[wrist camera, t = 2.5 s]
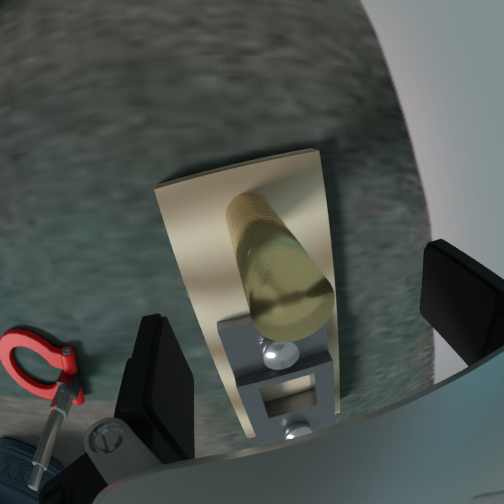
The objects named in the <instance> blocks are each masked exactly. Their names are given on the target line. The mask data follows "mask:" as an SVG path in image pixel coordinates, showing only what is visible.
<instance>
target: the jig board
mask: <svg viewBox="0 0 504 504" xmlns="http://www.w3.org/2000/svg"><path fill="white" fill-rule="evenodd" d="M154 190H155V194H156V197H157V200H158V204H159V207H160V210H161V214H162V217H163V220H164V223H165V226H166V229H167V233H168V236H169V239H170V242H171V245H172V248H173V251H174V254H175V257H176V260H177V263H178V266H179V269H180V272H181V275H182V277H183V280H184V283H185V286H186V289H187V292H188V294H189V297H190V300H191V303H192V305H193V308H194V311H195V313H196V316H197V319H198V321H199V324H200V327H201V329H202V332H203V334H204V337H205V340H206V342H207V345H208V347H209V350H210V352H211V355H212V357H213V360H214V362H215V365H216V367H217V370H218V372H219V374H220V377H221V379H222V382H223V384H224V386H225V389H226V391H227V393H228V396H229V398H230V400H231V403H232V405H233V407H234V409H235V412H236V414H237V416H238V418H239V421H240V423H241V425H242V427H243V429H244V431H245V434H246V436H247V438H252V437H256V435H255V433H254V430H253V428H252V425H251V423H250V420H249V418H248V416H247V413H246V411H245V408H244V406H243V403H242V401H241V398H240V396H239V393H238V390H237V388H236V382H235V377H234V375H233V372H232V369H231V367H230V364H229V361H228V359H227V356H226V353H225V350H224V348H223V345H222V342H221V339H220V336H219V334H218V331H217V322H219V321H223V320H227V319H231V318H235V317H239V316H243V315H247V314H250V311H249V307H248V303H247V300H246V296H245V292H244V288H243V285H242V281H241V277H240V273H239V270H238V266H237V262H236V258H235V254H234V250H233V247H232V243H231V239H230V235H229V231H228V227H227V223H226V219H225V213H226V209H227V206H228V204H229V203H230V202H231V200H232V199H234V198H235V197H236V196H238V195H240V194H243V193H255V194H258V195H260V196H262V197H263V198H265V199H266V201H267V202H268V203H269V204H270V206H271V207H272V208H273V209H274V211H275V212H276V213H277V214H278V216H279V217H280V218H281V219H282V221H283V222H284V223H285V225H286V226H287V227H288V228H289V230H290V231H291V232H292V234H293V235H294V236H295V237H296V239H297V240H298V241H299V243H300V244H301V245H302V246H303V248H304V249H305V250H306V252H307V253H308V254H309V256H310V257H311V258H312V259H313V261H314V262H315V263H316V265H317V266H318V267H319V269H320V270H321V271H322V273H323V274H324V275H325V277H326V278H327V279H328V281H329V282H330V283H331V285H332V287H333V290H334V294H335V304H334V308H333V311H332V313H331V316H330V317H329V319H328V320H327V334H328V348H329V353H330V355H331V357H332V359H333V368H334V394H335V414H337V413H339V412H340V377H339V345H338V324H337V307H336V292H335V279H334V268H333V257H332V246H331V237H330V227H329V219H328V210H327V202H326V195H325V187H324V180H323V173H322V166H321V160H320V153H319V150H316V149H312V148H309V149H304V150H298V151H293V152H288V153H283V154H278V155H273V156H268V157H264V158H259V159H254V160H250V161H246V162H241V163H237V164H233V165H228V166H224V167H220V168H216V169H212V170H208V171H204V172H200V173H197V174H193V175H189V176H185V177H182V178H178V179H174V180H171V181H167V182H164V183H160V184H157V186H156V188H155V189H154ZM308 389H311V385H310V377H309V375H307V376H304V377H300V378H297V379H293V380H290V381H286V382H283V383H279V384H276V385H272V386H268V387H264V388H260V390H261V393H262V396H263V399H264V402H266V401H269V400H273V399H277V398H281V397H284V396H288V395H291V394H295V393H298V392H302V391H305V390H308Z"/></svg>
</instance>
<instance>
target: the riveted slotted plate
mask: <svg viewBox="0 0 504 504" xmlns="http://www.w3.org/2000/svg"><path fill="white" fill-rule="evenodd" d="M217 331H218V334H219V336H220V339H221V342H222V345H223V348H224V350H225V353H226V356H227V359H228V361H229V364H230V367H231V369H232V372H233V375H234V377H235V382H236V388H237V390H238V393H239V396H240V398H241V401H242V403H243V406H244V408H245V411H246V413H247V416H248V418H249V420H250V423H251V425H252V428H253V430H254V433H255V435H256V437H257V440H258V442H259V444H260V446H262V445H266V444H271V443H275V442H279V441H283V440H287V439H291V438H295V437H298V436H302V435H305V434H309V433H312V432H316V431H319V430H322V429H325V428H329V427H332V426H335V394H334V368H333V359H332V357H331V355H330V353H329V348H328V334H327V322H326V323H325V324H324V325H323V326H322V327H321V328H320V329H319V330H318V331H316V332H315V333H314V334H312V335H310V336H308V337H306V338H304V339H301V340H297V341H292V342H278V341H274V340H271V339H268V338H266V337H265V336H263V335H262V334H260V333H259V332H258V330H257V329H256V328H255V326H254V324H253V321H252V318H251V315H250V314H247V315H243V316H239V317H235V318H231V319H227V320H223V321H219V322H217ZM307 375H309V377H310V385H311V389H308V390H305V391H302V392H298V393H295V394H291V395H288V396H284V397H281V398H277V399H273V400H269V401H266V402H264V399H263V396H262V393H261V390H260V388H264V387H268V386H272V385H276V384H279V383H283V382H286V381H290V380H293V379H297V378H300V377H304V376H307Z"/></svg>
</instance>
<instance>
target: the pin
mask: <svg viewBox="0 0 504 504" xmlns="http://www.w3.org/2000/svg"><path fill="white" fill-rule="evenodd" d="M225 219H226V223H227V227H228V231H229V235H230V239H231V243H232V247H233V250H234V254H235V258H236V262H237V266H238V270H239V273H240V277H241V281H242V285H243V288H244V292H245V296H246V300H247V303H248V307H249V311H250V315H251V318H252V321H253V324H254V326H255V328H256V329H257V330H258V332H259V333H260V334H262V335H263V336H265V337H266V338H268V339H271V340H274V341H278V342H292V341H297V340H301V339H304V338H306V337H308V336H310V335H312V334H314V333H315V332H316V331H318V330H319V329H320V328H321V327H322V326H323V325H324V324H325V323H326V322H327V320H328V319H329V317H330V316H331V313H332V311H333V308H334V304H335V294H334V290H333V287H332V285H331V283H330V282H329V281H328V279H327V278H326V277H325V275H324V274H323V273H322V271H321V270H320V269H319V267H318V266H317V265H316V263H315V262H314V261H313V259H312V258H311V257H310V256H309V254H308V253H307V252H306V250H305V249H304V248H303V246H302V245H301V244H300V243H299V241H298V240H297V239H296V237H295V236H294V235H293V234H292V232H291V231H290V230H289V228H288V227H287V226H286V225H285V223H284V222H283V221H282V219H281V218H280V217H279V216H278V214H277V213H276V212H275V211H274V209H273V208H272V207H271V206H270V204H269V203H268V202H267V201H266V199H265V198H263V197H262V196H260V195H258V194H255V193H243V194H240V195H238V196H236V197H235V198H234V199H232V200H231V202H230V203H229V204H228V206H227V209H226V213H225Z"/></svg>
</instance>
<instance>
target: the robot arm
mask: <svg viewBox="0 0 504 504" xmlns="http://www.w3.org/2000/svg"><path fill="white" fill-rule="evenodd" d="M420 312H421V314H422V316H423V317H424V318H425V319H426V320H427V321H428V322H429V323H430V324H431V326H432V327H433V328H434V329H435V330H436V331H437V332H438V333H439V334H440V335H441V336H442V337H443V338H444V339H445V340H446V342H447V343H448V344H449V345H450V346H451V347H452V348H453V349H454V350H455V352H456V353H457V354H458V355H459V356H460V357H461V358H462V359H463V360H464V362H465V363H466V364H467V365H468V366H469V367H467V368H465V369H464V370H462V371H460V372H458V373H456V374H455V375H453V376H451V377H449V378H447V379H445V380H443V381H441V382H439V383H437V384H435V385H433V386H431V387H429V388H427V389H425V390H423V391H421V392H418V393H416V394H414V395H412V396H410V397H407V398H405V399H403V400H401V401H398V402H396V403H394V404H391V405H389V406H386V407H384V408H381V409H379V410H376V411H374V412H371V413H369V414H366V415H363V416H361V417H358V418H355V419H352V420H349V421H347V422H344V423H341V424H338V425H335V426H332V427H329V428H325V429H322V430H319V431H316V432H312V433H309V434H305V435H302V436H298V437H295V438H291V439H287V440H283V441H279V442H275V443H271V444H266V445H262V446H258V447H253V448H249V449H244V450H239V451H234V452H229V453H223V454H218V455H212V456H206V457H200V458H195V449H194V379H193V375H192V372H191V370H190V368H189V366H188V363H187V361H186V359H185V357H184V355H183V353H182V350H181V348H180V346H179V344H178V342H177V339H176V337H175V335H174V332H173V330H172V328H171V326H170V323H169V321H168V319H167V317H166V316H164V317H161V315H160V314H159V313H157V314H153V315H148V316H144V317H142V320H141V323H140V327H139V331H138V334H137V338H136V342H135V346H134V350H133V354H132V358H129V359H128V360H127V363H126V367H125V370H124V374H123V378H122V383H121V387H120V391H119V395H118V399H117V404H116V408H115V413H114V417H108V418H104V419H101V420H99V421H97V422H95V423H94V424H93V425H92V426H91V427H90V428H89V429H88V431H87V432H86V434H85V437H84V447H85V450H86V453H84V454H83V455H82V456H81V457H79V458H78V459H77V460H75V461H74V462H73V463H72V464H70V465H69V466H68V467H66V468H65V469H64V470H62V471H61V472H60V473H59V474H57V475H56V476H55V477H53V478H52V479H51V480H49V481H48V482H47V483H46V484H45V485H44V486H43V487H42V489H41V491H40V494H39V504H504V279H502V278H501V277H499V276H498V275H496V274H495V273H493V272H492V271H491V270H489V269H488V268H486V267H485V266H483V265H482V264H480V263H479V262H477V261H476V260H474V259H473V258H471V257H470V256H468V255H467V254H465V253H464V252H462V251H460V250H459V249H457V248H456V247H454V246H453V245H451V244H450V243H448V242H446V241H445V240H443V239H438V240H435V241H432V242H429V243H428V244H427V246H426V248H425V249H424V257H423V275H422V288H421V299H420Z"/></svg>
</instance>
